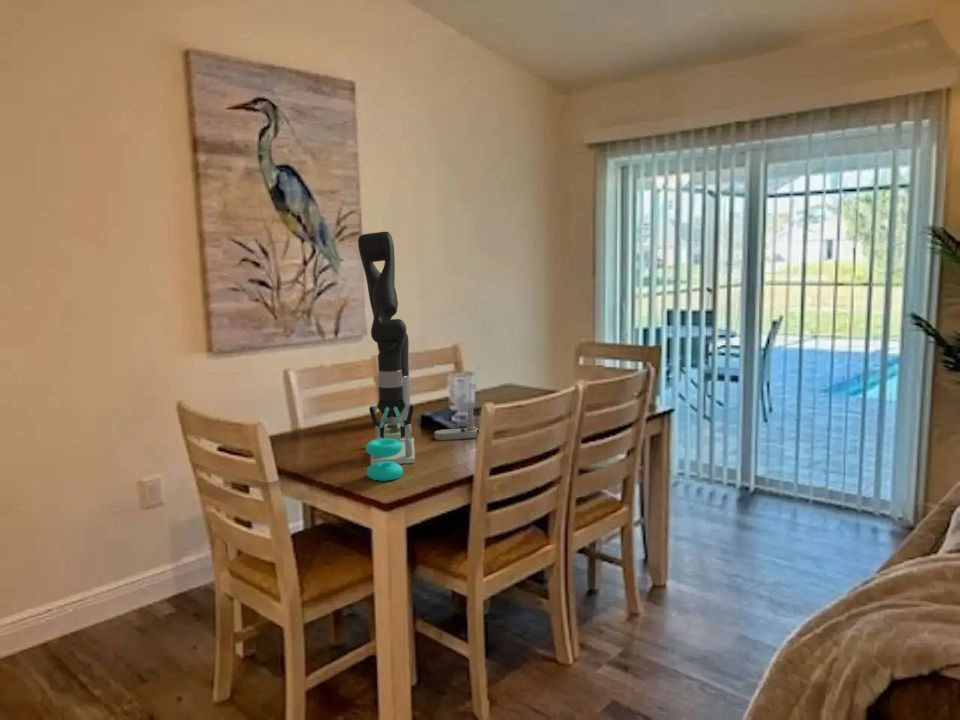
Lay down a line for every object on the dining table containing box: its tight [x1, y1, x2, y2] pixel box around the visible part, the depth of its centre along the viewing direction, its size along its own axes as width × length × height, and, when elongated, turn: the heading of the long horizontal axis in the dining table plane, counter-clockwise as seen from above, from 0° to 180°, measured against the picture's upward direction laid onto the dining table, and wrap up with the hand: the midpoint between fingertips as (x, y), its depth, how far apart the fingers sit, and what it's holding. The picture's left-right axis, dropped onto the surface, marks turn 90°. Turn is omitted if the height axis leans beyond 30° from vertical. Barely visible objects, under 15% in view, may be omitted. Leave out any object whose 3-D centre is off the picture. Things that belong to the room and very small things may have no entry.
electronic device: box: [434, 407, 479, 441], centre depth 250 cm, size 5×10×15 cm
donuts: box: [365, 438, 404, 482], centre depth 208 cm, size 10×10×10 cm
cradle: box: [370, 423, 416, 466], centre depth 232 cm, size 24×13×6 cm, turn 6°
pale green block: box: [384, 423, 401, 442], centre depth 232 cm, size 14×5×5 cm, turn 6°
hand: (392, 438), depth 232 cm, fingers closed on pale green block, 5 cm apart
